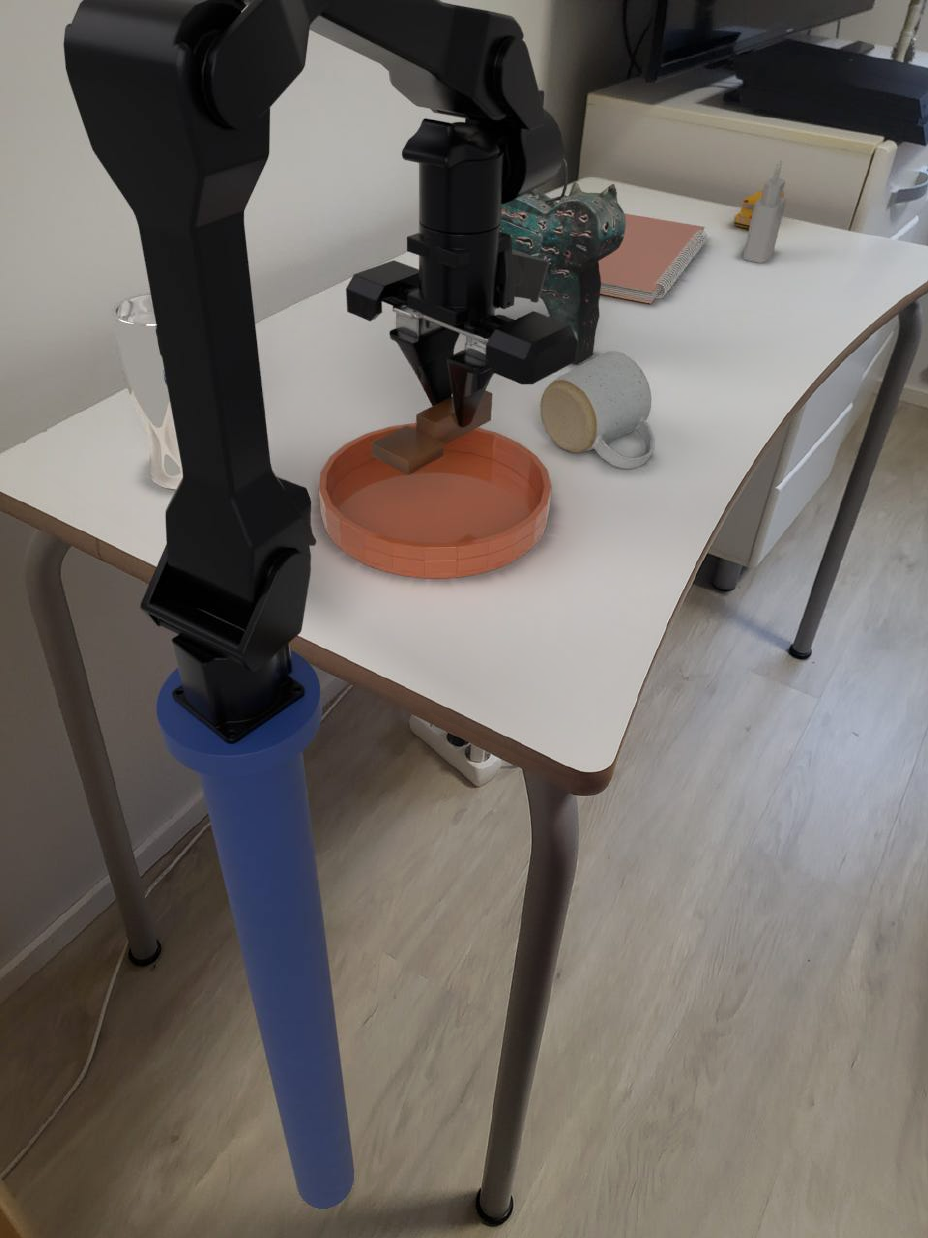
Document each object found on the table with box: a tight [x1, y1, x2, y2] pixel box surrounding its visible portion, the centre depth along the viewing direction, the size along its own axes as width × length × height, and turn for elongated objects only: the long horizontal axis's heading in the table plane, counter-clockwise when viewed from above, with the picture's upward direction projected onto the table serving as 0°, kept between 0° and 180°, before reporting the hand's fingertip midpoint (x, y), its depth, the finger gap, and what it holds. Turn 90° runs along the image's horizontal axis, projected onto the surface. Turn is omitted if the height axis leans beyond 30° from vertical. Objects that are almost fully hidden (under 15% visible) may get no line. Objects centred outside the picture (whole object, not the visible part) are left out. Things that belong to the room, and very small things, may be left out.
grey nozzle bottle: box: [742, 160, 787, 264], centre depth 126 cm, size 3×5×12 cm, turn 150°
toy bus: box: [733, 189, 785, 229], centre depth 140 cm, size 3×10×4 cm, turn 140°
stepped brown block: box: [371, 389, 493, 475], centre depth 75 cm, size 4×11×2 cm, turn 139°
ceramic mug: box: [539, 350, 656, 470], centre depth 86 cm, size 11×8×8 cm
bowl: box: [318, 422, 553, 579], centre depth 79 cm, size 19×19×3 cm
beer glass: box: [110, 291, 183, 491], centre depth 78 cm, size 7×7×15 cm
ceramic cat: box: [500, 157, 626, 365], centre depth 100 cm, size 20×6×20 cm, turn 51°
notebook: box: [599, 212, 708, 304], centre depth 126 cm, size 27×17×2 cm, turn 156°
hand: (454, 420), depth 76 cm, fingers closed on stepped brown block, 2 cm apart
